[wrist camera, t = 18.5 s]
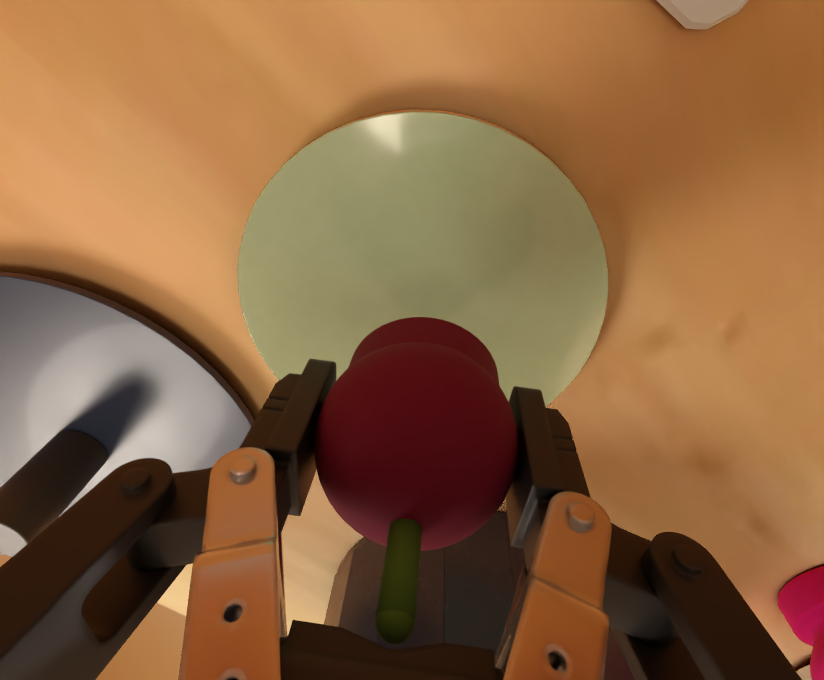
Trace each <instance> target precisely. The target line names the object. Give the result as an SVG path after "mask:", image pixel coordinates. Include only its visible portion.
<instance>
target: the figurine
mask: <svg viewBox="0 0 824 680" xmlns="http://www.w3.org/2000/svg"><path fill="white" fill-rule="evenodd" d="M796 672H797V674H798V675H799V676H800V678H801V679H802V680H812V678H811V673H810V665H807V666H804V667H803V668H800V669H798V671H796Z"/></svg>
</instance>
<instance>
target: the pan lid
mask: <svg viewBox="0 0 824 680" xmlns="http://www.w3.org/2000/svg"><path fill="white" fill-rule="evenodd" d="M253 423H254V419H253V417H252V415H251V413H250V412H249V410H248V409H247V407H246V406H245V405H244V403H243V402H242V400H241V399H240V398H239V396H238V395H237V393H236V392H235V391H234V390H233V389H232V388H231V386H230V385H229V384H228V383H227V382H226V381H225V380H224V379H223V378H222V376H221V375H220V374H219V373H218V372H217V371H216V370H215V369H214V368H213V367H212V366H210V365H209V364H208V363H207V362H206V361H205V360H204V359H203V358H202V357H201V356H200V355H198V354H197V353H196V352H195V351H194V350H192V349H191V348H190V347H188V346H187V345H186V344H184V343H183V342H182V341H180V340H179V339H178V338H176V337H175V336H174V335H172V334H171V333H170V332H168V331H166V330H165V329H163V328H162V327H160V326H158V325H157V324H155V323H154V322H152V321H150V320H149V319H147V318H146V317H144V316H142V315H140V314H138V313H136V312H134V311H132V310H130V309H128V308H126V307H124V306H122V305H120V304H118V303H116V302H114V301H112V300H110V299H107V298H105V297H102V296H100V295H97V294H95V293H92V292H90V291H87V290H85V289H82V288H79V287H76V286H72V285H69V284H66V283H62V282H59V281H55V280H52V279H48V278H43V277H37V276H32V275H26V274H21V273H11V272H0V554H2V555H7V556H14V555H15V554H16V553H18V552H19V551H20V550H21V549H22V548H23V547H25V546H26V545H27V544H28V543H29V542H30V541H32V540H33V539H34V538H35V537H36V536H37V535H39V534H40V533H41V532H42V531H43V530H44V529H46V528H47V527H48V526H49V525H50V524H51V523H53V522H54V521H55V520H56V519H57V518H58V517H60V516H61V515H62V514H63V513H64V512H65V511H67V510H68V509H69V508H70V507H71V506H72V505H74V504H75V503H76V502H77V501H78V500H79V499H81V498H82V497H83V496H84V495H85V494H86V493H88V492H89V491H90V490H91V489H92V488H93V487H95V486H96V485H97V484H98V483H99V482H100V481H102V480H103V479H104V478H105V477H106V476H107V475H109V474H110V473H111V472H112V471H114V470H115V469H116V468H118V467H120V466H121V465H123V464H125V463H128V462H130V461H133V460H137V459H142V458H157V459H160V460H163V461H165V462H166V463H167V464H169V466H170V467H171V470H172V473H178V472H186V471H194V470H201V469H207V468H210V467H213V466H214V464H215V463H216V462H217V460H218V459H219V458H221V457H222V456H223V455H225V454H226V453H228V452H230V451H233V450H236V449H239V447H240V446H241V444H242V442H243V441H244V439H245V437H246V435H247V434H248V432H249V430H250V428H251V426H252V425H253Z"/></svg>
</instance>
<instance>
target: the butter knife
mask: <svg viewBox="0 0 824 680" xmlns="http://www.w3.org/2000/svg"><path fill="white" fill-rule="evenodd" d="M656 1H657V2H658V3H659V4H660V5H662V6H663V7H664V8H665V9H666V10H667V11H668V12H669V13H670V14H671V15H672V16H673V17H674V18H675V19H676V20H677V21H678V22H679V23H681V24H682V25H683V26H684V27H685V28H686V29H702V30H706V29H708V28H710V27H712V26H714V25H716V24H718V23H720V22H722V21H723V20H725V19H727V18H729V17H731V16H733V15H735V14H737V13H738V12H739V11H740V10H741V9H742V7H743V6H744V5H745V4H746V3H747V2H748V1H749V0H656Z"/></svg>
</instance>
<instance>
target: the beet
mask: <svg viewBox="0 0 824 680" xmlns="http://www.w3.org/2000/svg"><path fill="white" fill-rule="evenodd" d="M314 453H315V463H316V468H317V472H318V476H319V479H320V483H321V485H322V488H323V490H324V492H325V494H326V496H327V498H328V500H329V502H330V503H331V505H332V506H333V507H334V509H335V510H336V511H337V513H338V514H339V515H340V517H341V518H342V519H343V520H344V521H345V522H346V523H347V524H349V525H350V526H351V527H352V528H353V529H354V530H356V531H357V532H358V533H360V534H361V535H362V536H364V537H366V538H368V539H369V540H371V541H374V542H376V543H378V544H381V545H384V546H386V552H385V559H384V565H383V572H382V578H381V585H380V592H379V598H378V605H377V611H376V618H375V624H376V630H377V632H378V634H379V636H380V637H381V638H382V639H383V640H384V641H385V642H387V643H389V644H393V645H395V644H400V643H402V642H404V641H406V640H407V639H408V638H409V637H410V635H411V633H412V631H413V629H414V624H415V612H416V600H417V587H418V575H419V563H420V551H427V550H434V549H439V548H444V547H447V546H450V545H452V544H454V543H457V542H459V541H461V540H463V539H465V538H467V537H468V536H470V535H472V534H473V533H474V532H476V531H477V530H478V529H479V528H481V527H482V526H483V525H484V524H486V523H487V522H488V520H489V519H490V518H491V517H492V516H493V515H494V514H495V512H496V511H497V510H498V509H499V507H500V506H501V504H502V502H503V501H504V499H505V497H506V495H507V493H508V491H509V489H510V487H511V484H512V481H513V478H514V475H515V470H516V466H517V458H518V434H517V428H516V423H515V419H514V415H513V412H512V409H511V406H510V404H509V402H508V400H507V398H506V396H505V394H504V392H503V391H502V389H501V388H500V386H499V378H498V371H497V367H496V364H495V361H494V359H493V357H492V355H491V353H490V352H489V350H488V349H487V347H486V346H485V345H484V344H483V343H482V342H481V341H480V340H479V339H478V338H477V337H476V336H474V335H473V334H472V333H471V332H469V331H468V330H466V329H464V328H463V327H461V326H458V325H456V324H454V323H452V322H448V321H445V320H442V319H436V318H430V317H410V318H403V319H399V320H395V321H392V322H389V323H387V324H385V325H382V326H380V327H379V328H377V329H375V330H374V331H372V332H371V333H370V334H369V335H367V336H366V337H365V338H364V339H363V340H362V342H361V343H360V344H359V345H358V347H357V348H356V350H355V352H354V354H353V356H352V359H351V362H350V364H349V367H348V369H347V370H346V371H345V372H344V373H343V374H342V375H341V376H340V377H339V378H338V380H337V381H336V382H335V383H334V385H333V386H332V388H331V389H330V391H329V393H328V394H327V396H326V398H325V400H324V403H323V405H322V407H321V410H320V413H319V416H318V420H317V424H316V429H315V439H314Z"/></svg>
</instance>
